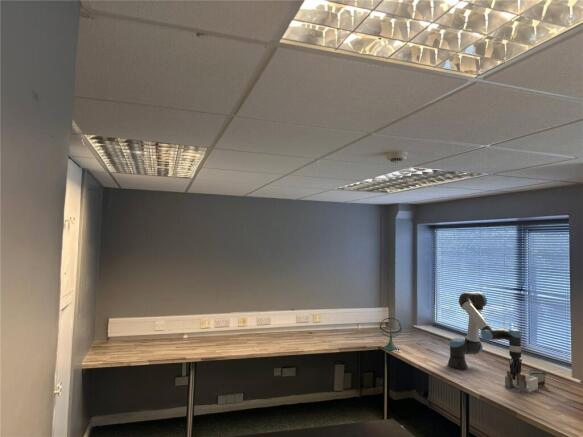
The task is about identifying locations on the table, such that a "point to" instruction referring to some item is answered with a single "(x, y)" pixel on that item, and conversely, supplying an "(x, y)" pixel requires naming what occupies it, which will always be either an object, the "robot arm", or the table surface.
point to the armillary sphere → (390, 345)
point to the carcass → (530, 383)
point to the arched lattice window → (538, 376)
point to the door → (519, 377)
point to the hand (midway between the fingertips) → (515, 383)
